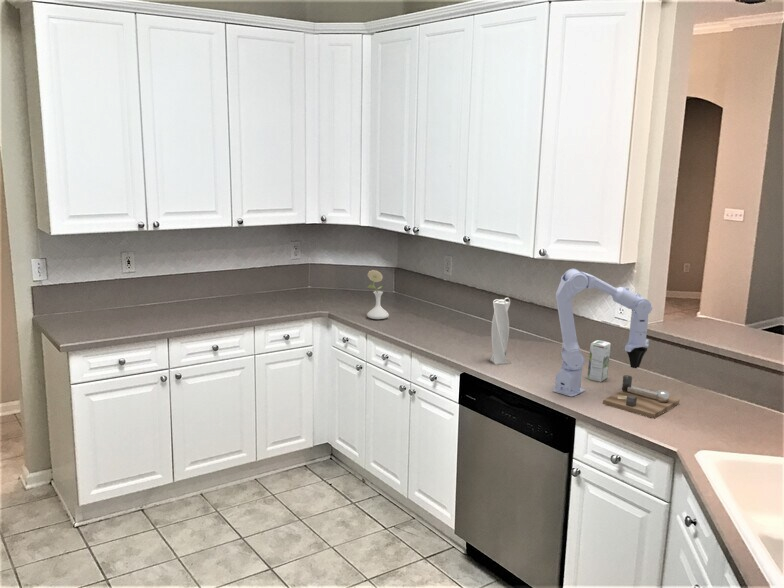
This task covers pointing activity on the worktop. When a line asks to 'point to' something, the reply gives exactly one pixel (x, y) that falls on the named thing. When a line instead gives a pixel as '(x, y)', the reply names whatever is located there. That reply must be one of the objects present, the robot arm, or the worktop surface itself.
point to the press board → (639, 403)
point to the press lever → (644, 390)
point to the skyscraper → (500, 331)
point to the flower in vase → (377, 310)
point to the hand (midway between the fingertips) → (634, 367)
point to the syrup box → (599, 360)
